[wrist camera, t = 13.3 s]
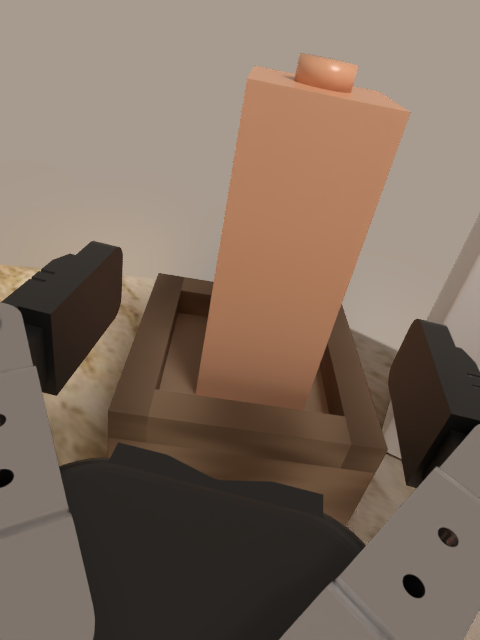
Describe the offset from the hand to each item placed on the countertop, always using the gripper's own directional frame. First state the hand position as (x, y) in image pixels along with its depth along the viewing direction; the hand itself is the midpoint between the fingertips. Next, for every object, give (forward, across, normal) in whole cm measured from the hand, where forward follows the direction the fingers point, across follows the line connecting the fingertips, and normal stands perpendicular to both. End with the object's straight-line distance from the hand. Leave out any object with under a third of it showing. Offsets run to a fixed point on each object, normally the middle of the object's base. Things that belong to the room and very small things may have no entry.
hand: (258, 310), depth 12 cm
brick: (+7, 0, +8) cm, 11 cm away
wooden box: (+7, 0, +14) cm, 16 cm away
